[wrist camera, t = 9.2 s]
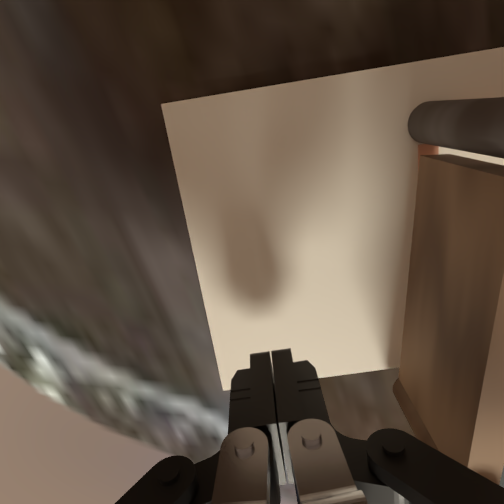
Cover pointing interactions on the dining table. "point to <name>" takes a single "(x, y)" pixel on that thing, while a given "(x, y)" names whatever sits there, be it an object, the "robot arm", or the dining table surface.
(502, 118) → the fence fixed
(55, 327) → the dining table surface
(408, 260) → the card
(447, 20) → the dining table surface
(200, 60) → the dining table surface
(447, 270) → the swing panel
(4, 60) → the dining table surface
